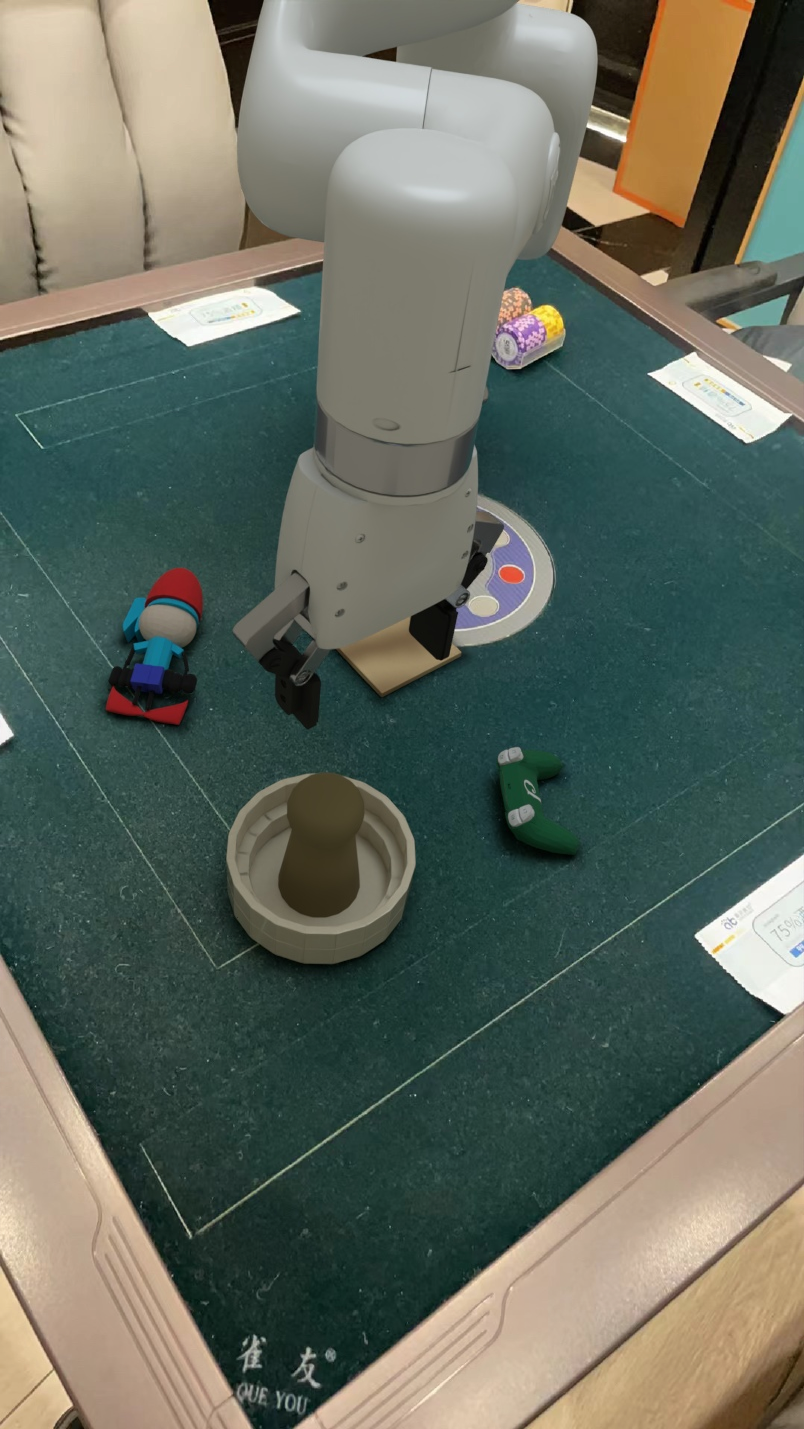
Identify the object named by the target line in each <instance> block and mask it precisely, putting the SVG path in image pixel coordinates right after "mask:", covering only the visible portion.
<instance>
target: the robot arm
mask: <svg viewBox="0 0 804 1429" xmlns="http://www.w3.org/2000/svg"><path fill="white" fill-rule="evenodd" d="M519 1H520V0H263V3H262V7H261V9H260V14H259V17H258V20H257V21H258V22H257V26H256V31H255V36H254V40H253V44H252V48H251V53H250V58H249V62H248V66H247V72H246V76H245V81H244V85H243V90H242V96H241V102H240V109H239V115H238V124H237V125H238V127H237V134H236V135H237V136H236V164H237V166H236V167H237V174H238V179H239V184H240V189H241V192H242V194H243V197H244V200H245V202H246V204H247V206H248V208H249V210H250V211H251V212H252V214H253V215H254V216H255V217H256V219H257V220H258V221H260V223H261V224H262V225H264V226H265V227H267V228H268V229H270V230H272V231H274V232H276V233H278V234H281V235H282V236H285V237H289V238H294V239H300V240H304V241H305V240H306V241H312V242H318V243H319V242H320V243H323V258H322V274H321V275H322V276H321V277H322V278H321V291H320V292H321V296H320V314H319V329H318V330H319V333H318V350H317V366H316V367H317V369H316V386H315V387H316V390H315V408H314V426H313V427H314V428H313V429H314V430H313V445H312V446H313V447H311V448H309V449H307V450H306V451H304V452H302V453H301V454H299V456H298V458H297V461H296V464H295V467H294V469H293V472H292V475H291V479H290V483H289V486H288V489H287V494H286V497H285V502H284V506H283V510H282V515H281V516H282V517H281V522H280V529H279V535H278V536H279V537H278V542H277V552H276V561H275V574H274V590H273V591H272V592H270V593H269V594H268V595H267V596H266V597H265V598H264V599H263V600H261V601H260V602H259V603H258V604H257V605H256V606H255V607H253V608H252V609H251V610H250V611H249V612H248V613H246V615H244V616H243V617H242V618H241V619H239V621H238V622H237V623H235V625H234V626H233V628H232V630H231V633H232V635H233V636H234V638H235V639H237V640H238V642H239V643H240V644H241V645H242V646H243V647H244V649H246V651H247V652H248V653H249V654H250V655H251V656H252V657H253V659H254V660H255V661H256V662H257V663H258V664H259V665H260V666H261V667H262V668H263V670H264V671H266V672H267V673H270V674H274V698H275V701H276V703H277V705H278V707H279V708H280V709H281V710H282V711H283V713H284V714H286V715H287V716H291V715H293V716H294V717H295V719H296V720H297V721H298V722H299V723H300V724H301V726H303V727H304V728H305V730H307V731H309V730H310V729H313V728H314V727H317V724H318V722H319V719H320V718H319V717H320V703H321V690H322V681H321V678H320V677H319V675H318V674H317V673H316V672H317V670H318V669H319V668H320V666H321V665H322V663H324V661H325V660H326V658H327V657H328V655H329V654H331V651H332V650H336V649H337V648H342V647H345V646H348V645H351V644H353V643H355V642H358V641H360V640H362V639H364V638H366V637H368V636H371V635H373V634H375V633H377V632H379V631H381V630H383V629H385V628H387V627H390V626H392V625H394V624H396V623H398V622H400V621H402V620H404V619H406V618H408V617H410V616H411V618H410V624H409V633H410V634H411V635H412V636H413V637H414V638H415V639H416V640H417V641H418V642H419V643H420V644H421V645H422V646H423V647H424V648H425V649H426V650H427V651H428V652H429V653H430V654H431V655H432V656H433V657H434V658H435V659H436V660H440V661H442V660H444V659H446V658H448V657H449V655H450V650H451V645H452V643H453V641H454V635H455V630H456V626H457V622H458V615H459V612H458V611H457V609H460V608H463V606H465V605H466V604H467V603H468V602H469V600H470V598H471V591H469V590H468V588H469V587H470V586H471V585H472V584H473V582H475V580H476V579H477V578H478V577H479V575H480V574H482V572H483V571H485V569H486V567H487V565H488V562H489V560H488V557H487V555H488V554H490V553H491V552H492V551H493V548H494V547H495V546H496V544H497V542H498V540H499V538H500V537H501V535H502V533H503V531H504V530H505V524H504V523H503V522H501V521H500V519H498V518H497V517H496V516H494V514H492V513H490V512H489V511H484V510H478V493H479V462H478V451H477V448H476V445H475V444H476V439H477V433H478V428H479V423H480V418H481V411H482V407H483V406H484V405H485V404H487V402H488V400H489V388H488V386H487V382H488V376H489V370H490V365H491V359H492V354H493V349H494V345H495V339H496V334H497V329H498V324H499V319H500V314H501V313H500V312H501V308H502V304H503V298H504V293H505V287H506V281H507V278H508V276H509V273H510V271H511V270H512V268H513V267H514V265H515V262H516V261H517V260H523V261H527V260H528V261H529V260H536V259H539V258H541V257H543V256H544V255H546V254H547V253H548V252H549V251H550V250H551V249H552V248H553V246H554V244H555V242H556V241H557V238H558V237H559V233H560V231H561V228H562V225H563V222H564V218H565V214H566V210H567V207H568V202H569V199H570V194H571V191H572V186H573V183H574V178H575V174H576V170H577V167H578V162H579V158H580V154H581V151H582V146H583V143H584V138H585V135H586V131H587V127H588V122H589V119H590V114H591V110H592V105H593V100H594V96H595V95H594V94H595V91H596V90H595V89H596V83H597V77H598V76H597V75H598V61H599V60H598V44H597V41H596V37H595V34H594V31H593V29H592V28H591V26H590V25H589V24H588V23H587V22H586V21H585V20H584V19H583V18H582V17H581V16H578V15H576V14H574V13H570V12H568V11H564V10H560V9H555V8H548V7H543V6H535V5H529V4H523V3H519ZM393 48H396V58H395V59H396V61H391V60H386V59H379V58H378V59H377V58H374V57H373V58H371V57H366V56H367V55H370V54H374V53H377V52H381V51H385V50H390V49H393ZM303 631H304V632H305V633H306V634H307V635H308V636H309V637H310V638H311V639H312V640H311V642H310V643H309V645H308V646H307V647H306V649H305V650H304V651H303V653H301V651H299V650H298V649H297V647H296V646H295V645H294V644H295V643H296V641H297V640H298V638H299V637H300V636H301V634H302V633H303Z"/></svg>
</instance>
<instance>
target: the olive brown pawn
mask: <svg viewBox="0 0 804 1429" xmlns="http://www.w3.org/2000/svg"><path fill="white" fill-rule="evenodd" d="M312 774H313V775H310V776H308V777H307V778H305V779H303V780H301V781H300V782H299V783H298V784H297V785H296V786H295V787H294V788H293V790H292V792H291V794H290V797H289V799H288V802H287V819H288V821H289V824H290V827H291V829H292V831H291V834H290V837H289V841H288V844H287V848H286V851H285V855H284V858H283V861H282V865H281V868H280V872H279V875H278V887H279V890H280V893H281V896H282V898H283V899H284V901H285V902H286V903H287V904H288V906H289V907H291V908H292V909H294V910H295V911H297V912H298V913H300V914H303V915H306V916H309V917H315V918H326V917H330V916H333V915H337V914H339V913H341V912H342V911H344V910H345V909H347V908H348V907H349V906H350V905H351V904H352V903H353V901H354V900H355V899H356V897H357V894H358V891H359V888H360V877H359V866H358V856H357V846H356V836H355V835H356V833H357V832H358V831H359V829H360V828H361V825H362V822H363V819H364V814H365V810H364V801H363V798H362V795H361V793H360V791H359V789H358V788H357V787H356V786H355V785H354V784H353V783H352V782H351V781H350V780H348V779H347V778H345V777H346V776H344V775H342V774H338V773H335V772H317V773H312ZM343 776H344V777H343Z"/></svg>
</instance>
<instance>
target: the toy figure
mask: <svg viewBox="0 0 804 1429" xmlns="http://www.w3.org/2000/svg"><path fill="white" fill-rule="evenodd" d="M203 596H204V595H203V590H202V586H201V583H200V580H199V578H198V577H197V576H196V575H195V574H194V573H193V572H192V571H191V570H189V569H187V568H185V567H174V568H172V569H169V570H167V571H166V572H164V573H163V574H162V575H161V576H160V577H159V578H158V579H157V580H156V581H155V582H154V584H153V586H152V587H151V589H150V591H149V592H148V594H147V597H146V598H145V597H135V598H134V599H133V602H132V604H131V606H130V608H129V610H128V612H127V614H126V616H125V618H124V621H123V622H122V630H123V634H124V637H125V638H126V641H127V643H128V644H129V643H130V642H131V641H132V639H133V638H134V637H136V640H137V642H135V643H134V642H133V646H132V647H131V649H130V651H129V653H128V655H127V658H126V660H125V661H124V664H123V667H121V666H119V665H115V666H113V668H112V669H111V672H110V674H109V677H108V680H107V681H108V682H107V683H108V685H110V686H112V687H111V690H110V692H109V695H108V697H107V701H106V705H105V710H106V712H110V713H113V714H119V715H123V716H131V717H132V716H133V717H137V716H138V717H140V716H142V717H144V718H145V719H149V720H150V721H154V722H156V723H157V722H158V723H163V724H169V725H175V726H177V725H178V726H179V725H180V724H181V721H182V720H183V718H184V715H185V712H186V709H187V706H188V704H189V700H188V699H187V700H184V702H181V703H176V704H172V705H168V706H163V707H159V708H158V707H157V708H153V709H151V708H152V704H153V700H154V697H155V694H159V695H160V694H161V695H162V694H163V691H164V690H165V691H169V692H170V693H172V694H178V693H180V692H181V691H182V693H183V694H186V695H191V694H193V693H195V691H196V687H197V683H198V678H197V676H196V675H195V674H194V673H190V667H189V662H188V656H187V653H186V652H185V650H184V648H185V647H186V646H187V645H189V644H190V643H191V642H192V641H193V640H194V637H195V636H196V633H197V629H198V627H199V624H200V623H201V620H202V614H203V606H204V597H203ZM135 654H136V655H140V654H144V657H143V661H142V663H135V664H134V667H133V668H132V667H131V668H129V667H128V666H130V665H131V663H132V660H133V659H134V656H135ZM173 656H175V657H177V658H178V659H181V658H182V662H183V667H184V670H183V674H182V673H181V672H175V671H174V670H173V669H169V668H170V665H171V662H172V657H173ZM115 686H119V687H120V688H126V687H127V688H129V689H133V691H135V692H134V696H133V699H132V701H131V700H129V699H128V698H126V697H125V696H123V695H122V694H121V693H120V692H118V691H117V690H116V688H115ZM141 692H145V693H149V694H148V697H147V700H146V704H145V708H144V709H145V711H143V709H141V708H140V707H139V706H138V702H139V699H140V695H141Z"/></svg>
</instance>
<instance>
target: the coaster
mask: <svg viewBox="0 0 804 1429" xmlns="http://www.w3.org/2000/svg"><path fill="white" fill-rule="evenodd" d="M410 618H411V616H410V617H408V618H406V619H404V620H402V621H400V622H398V623H396V624H394V625H392V626H390V627H387V628H385V629H383V630H381V631H379V632H377V633H375V634H373V635H371V636H368V637H366V638H364V639H362V640H360V641H358V642H355V643H353V644H351V645H348V646H345V647H342V648H337V649H335V650H336V651H337V652H338V653H339V654H340V655H341V656H342V658H343V659H345V661H346V662H347V663H348V664H349V665H350V666H351V667H352V668H353V670H355V672H357V673H358V675H360V677H361V678H362V679H364V681H365V682H366V683H367V684H368V685H369V686H370V687H371V689H372V690H374V692H376V693H377V695H378V696H379V697H380V698H384V697H386V696H387V695H389V694H392V693H393V692H395V691H398V690H400V689H401V688H403V687H405V686H406V685H409V684H410V683H413V682H414V681H417V680H418V679H420V678H422V677H424V676H426V675H428V674H430V673H431V672H434V671H436V670H438V669H439V668H441V667H443V666H445V665H447V664H449V663H451V662H453V661H454V660H457V659H459V658H460V657H461V656H462V651H461V650H460V649H459V648H458V646H456V645H455V644H454V643H453V642H452V645H451V650H450V655H449V657H448V658H446V659H444V660H442V661H440V660H436V659H435V658H434V657H433V656H432V655H431V654H430V653H429V652H428V651H427V650H426V649H425V648H424V647H423V646H422V645H421V644H420V643H419V642H418V641H417V640H416V639H415V638H414V637H413V636H412V635H411V634H410V633H409V624H410Z"/></svg>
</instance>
